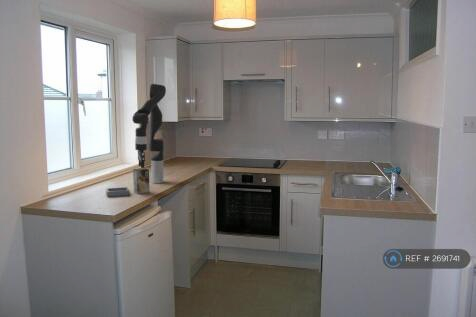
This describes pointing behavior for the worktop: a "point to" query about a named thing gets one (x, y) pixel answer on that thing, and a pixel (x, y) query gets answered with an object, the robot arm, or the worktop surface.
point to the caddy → (117, 192)
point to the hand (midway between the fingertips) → (141, 166)
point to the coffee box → (141, 180)
